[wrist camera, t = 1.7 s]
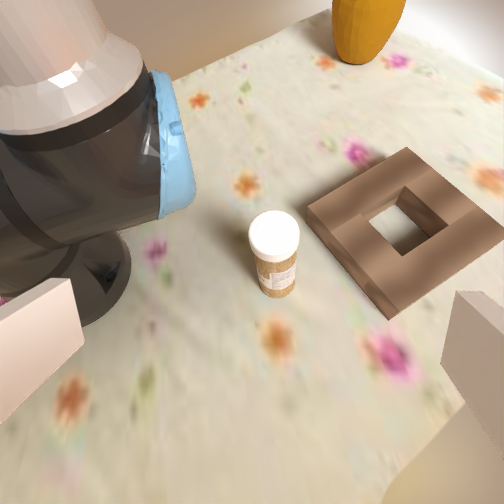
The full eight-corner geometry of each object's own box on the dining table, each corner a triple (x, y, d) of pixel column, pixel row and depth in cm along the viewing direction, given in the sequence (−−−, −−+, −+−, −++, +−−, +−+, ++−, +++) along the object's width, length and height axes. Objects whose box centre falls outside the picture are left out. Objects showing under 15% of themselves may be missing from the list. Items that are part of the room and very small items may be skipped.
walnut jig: (305, 222, 43) (307, 206, 39) (396, 166, 45) (406, 146, 41) (388, 320, 36) (399, 311, 32) (490, 249, 38) (511, 233, 35)
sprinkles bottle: (255, 270, 40) (242, 215, 28) (289, 261, 40) (290, 202, 28) (264, 304, 38) (254, 259, 26) (300, 294, 38) (306, 245, 26)
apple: (394, 39, 57) (421, -53, 45) (383, 78, 53) (410, -12, 41) (334, 33, 59) (345, -56, 48) (319, 70, 55) (328, -17, 44)
